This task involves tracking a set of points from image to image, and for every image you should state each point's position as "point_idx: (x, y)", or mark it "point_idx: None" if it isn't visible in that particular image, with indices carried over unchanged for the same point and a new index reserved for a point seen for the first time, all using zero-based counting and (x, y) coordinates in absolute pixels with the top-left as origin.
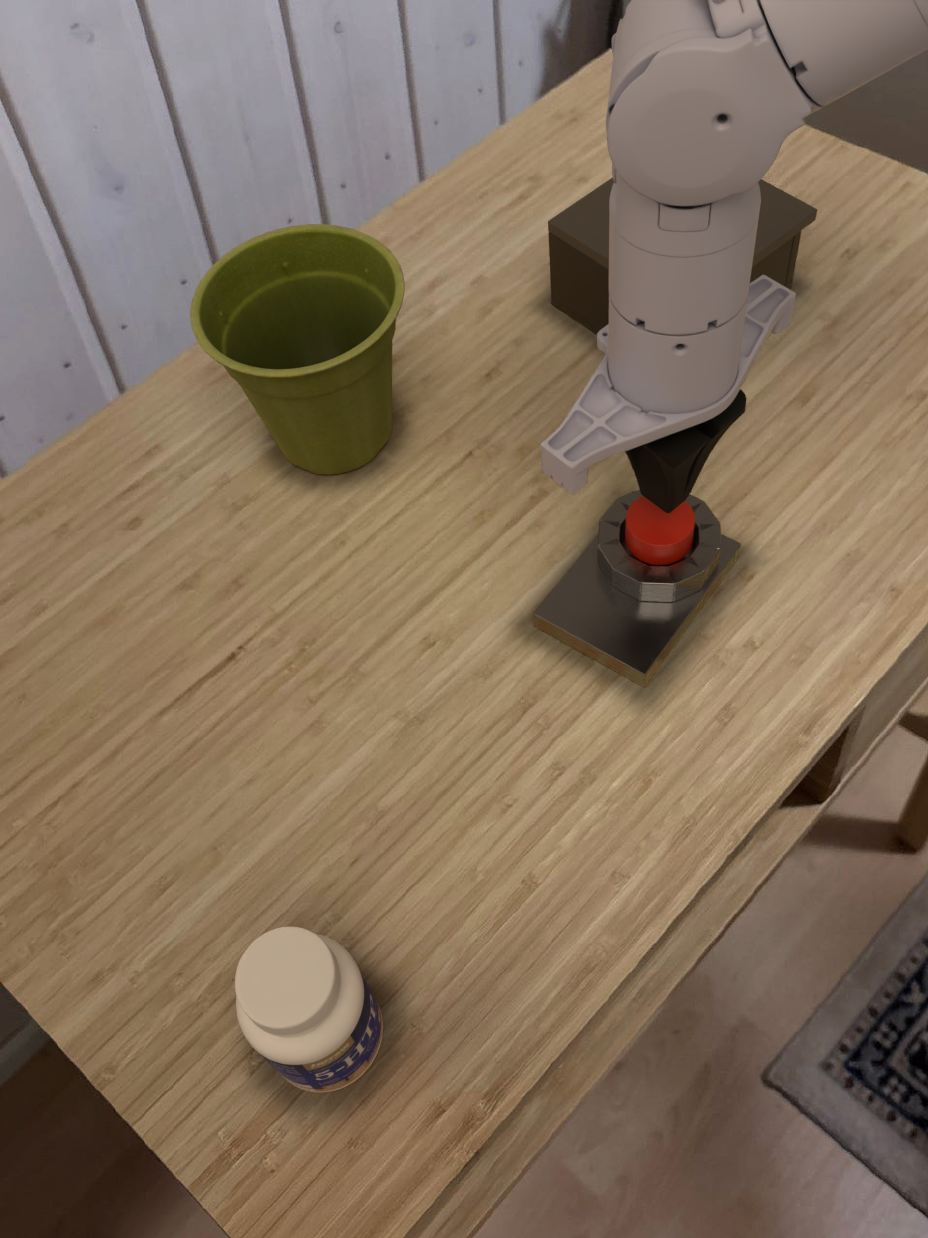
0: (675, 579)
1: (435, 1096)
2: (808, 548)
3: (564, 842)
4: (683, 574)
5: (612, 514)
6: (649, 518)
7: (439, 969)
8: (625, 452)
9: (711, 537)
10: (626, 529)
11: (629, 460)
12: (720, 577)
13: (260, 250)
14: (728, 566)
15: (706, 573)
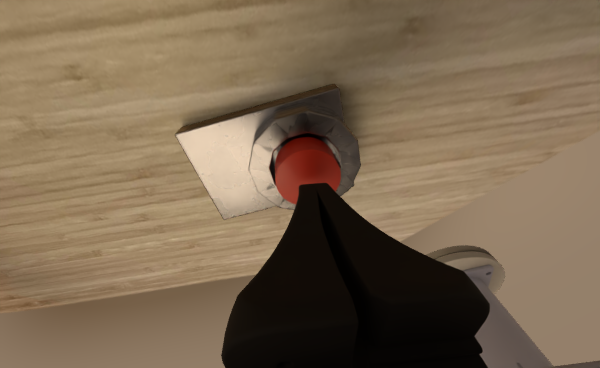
0: (282, 204)
1: (11, 294)
2: (384, 197)
3: (127, 247)
4: (290, 205)
5: (290, 123)
6: (301, 173)
7: (24, 261)
8: (288, 225)
9: None
10: (279, 161)
11: (292, 215)
12: None
13: None
14: None
15: None
